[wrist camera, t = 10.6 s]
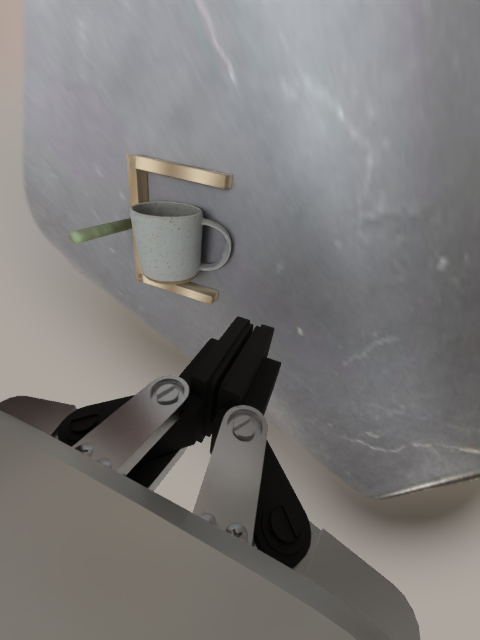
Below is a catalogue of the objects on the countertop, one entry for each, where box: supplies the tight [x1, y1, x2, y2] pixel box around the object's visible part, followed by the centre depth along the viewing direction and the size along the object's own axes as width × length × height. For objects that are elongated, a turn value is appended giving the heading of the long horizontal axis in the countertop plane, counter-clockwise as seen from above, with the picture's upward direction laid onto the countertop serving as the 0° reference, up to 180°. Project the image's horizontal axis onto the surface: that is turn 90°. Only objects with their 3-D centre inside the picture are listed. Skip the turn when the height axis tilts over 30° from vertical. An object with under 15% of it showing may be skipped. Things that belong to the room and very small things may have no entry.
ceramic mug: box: [129, 201, 231, 285], centre depth 29 cm, size 11×8×8 cm
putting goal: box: [69, 154, 233, 304], centre depth 28 cm, size 13×15×10 cm
